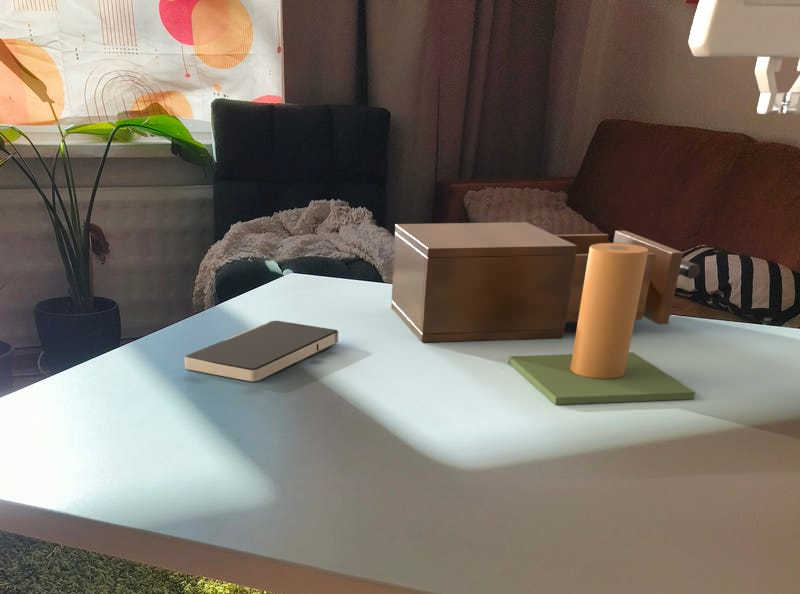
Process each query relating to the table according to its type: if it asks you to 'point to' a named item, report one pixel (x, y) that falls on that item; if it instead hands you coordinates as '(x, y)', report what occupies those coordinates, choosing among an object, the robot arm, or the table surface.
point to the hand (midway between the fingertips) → (777, 113)
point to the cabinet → (481, 281)
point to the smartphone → (261, 350)
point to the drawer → (656, 279)
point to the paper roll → (608, 309)
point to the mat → (598, 381)
